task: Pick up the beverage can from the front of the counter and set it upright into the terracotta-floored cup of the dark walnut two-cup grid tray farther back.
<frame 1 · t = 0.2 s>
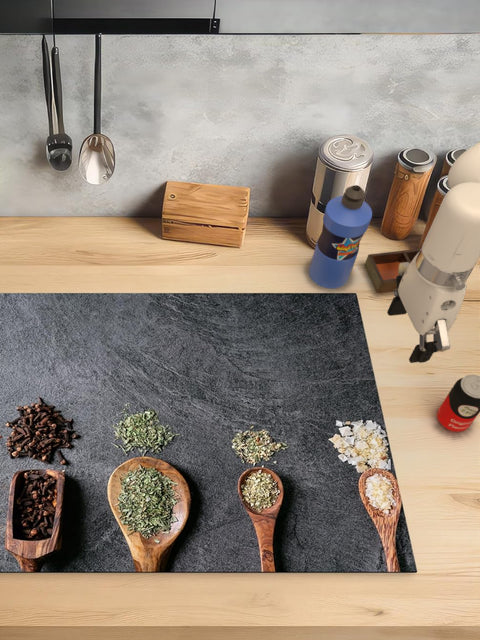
hand: (407, 336, 118), 30 cm above the counter, tool pointing down, fingers open, 9 cm apart
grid: (405, 275, 166), on the counter
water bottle: (328, 274, 167), on the counter
beverage can: (451, 420, 144), on the counter
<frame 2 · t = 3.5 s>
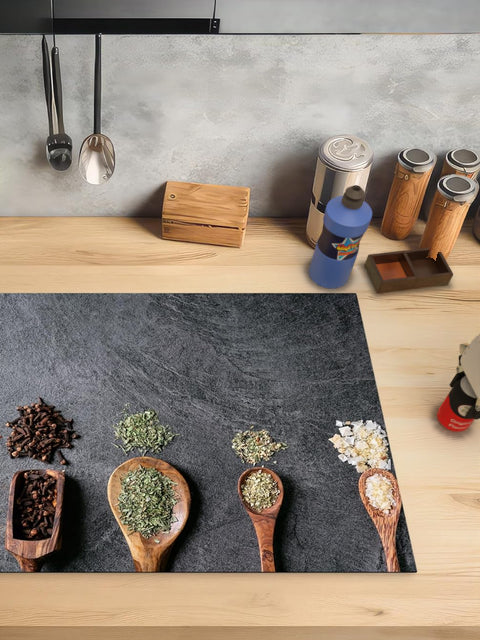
hand: (465, 400, 138), 7 cm above the counter, tool pointing down, fingers closed on beverage can, 6 cm apart
beverage can: (451, 420, 144), on the counter, touching gripper
everything else where it was.
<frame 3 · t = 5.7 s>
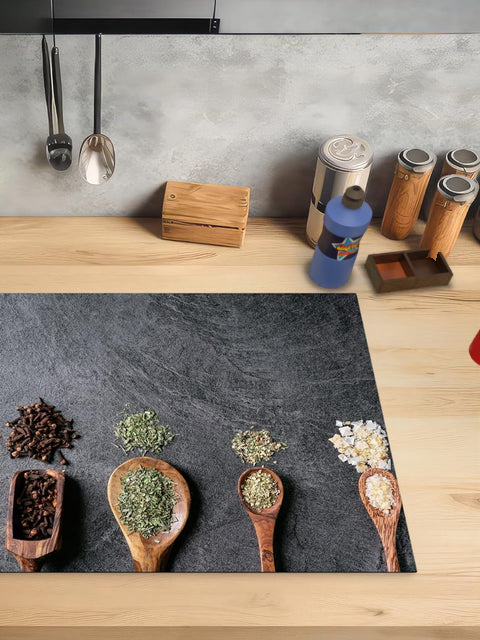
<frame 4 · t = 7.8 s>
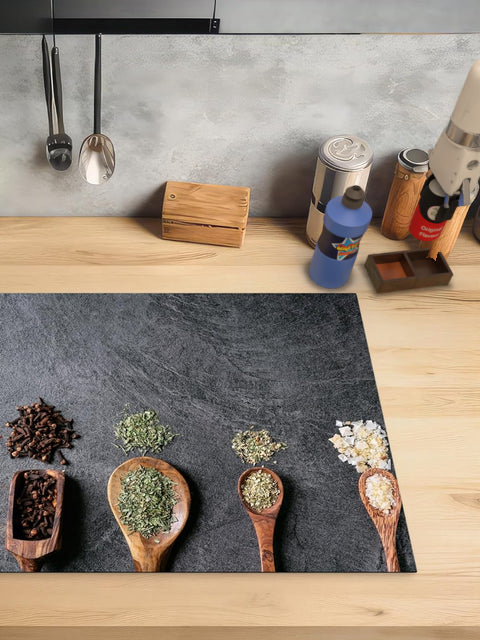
hand: (435, 206, 142), 25 cm above the counter, tool pointing down, fingers closed on beverage can, 6 cm apart
beverage can: (422, 234, 148), point 18 cm above the counter, touching gripper
everything else where it was.
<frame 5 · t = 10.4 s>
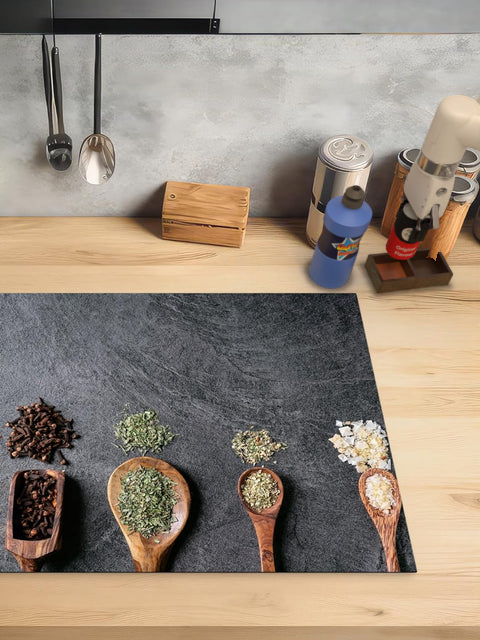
hand: (409, 228, 153), 15 cm above the counter, tool pointing down, fingers closed on beverage can, 6 cm apart
beverage can: (398, 252, 159), point 8 cm above the counter, touching gripper
everything else where it was.
when the fingers open (8 cm above the counter, at t = 12.5 s): beverage can stays where it is, resting on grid.
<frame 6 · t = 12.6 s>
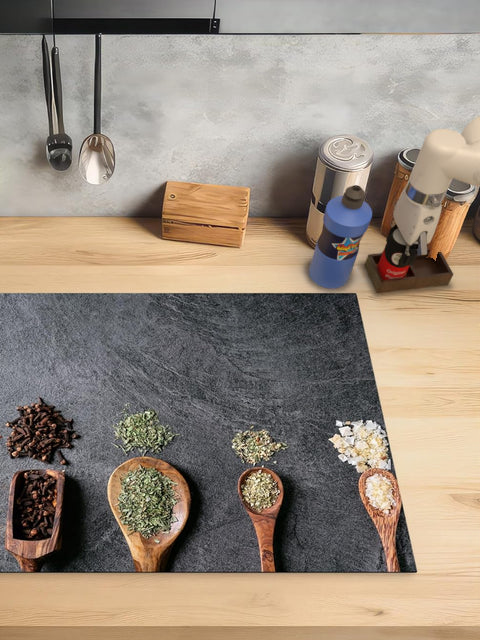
hand: (399, 252, 159), 8 cm above the counter, tool pointing down, fingers open, 6 cm apart
beverage can: (389, 275, 165), point 1 cm above the counter, touching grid
everything else where it was.
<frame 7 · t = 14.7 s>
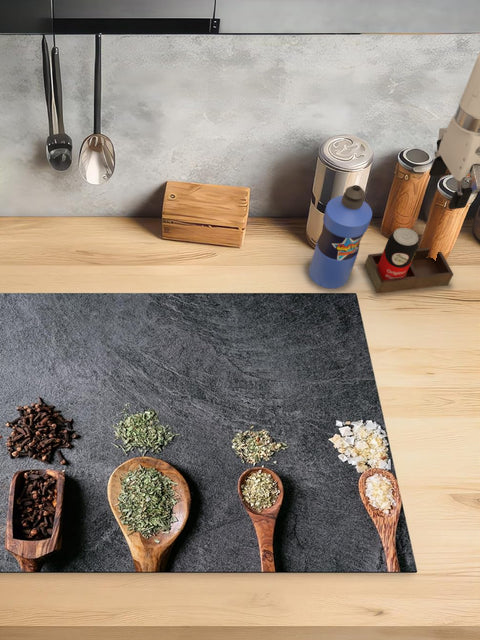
hand: (446, 190, 143), 27 cm above the counter, tool pointing down, fingers open, 9 cm apart
nothing on the counter moved.
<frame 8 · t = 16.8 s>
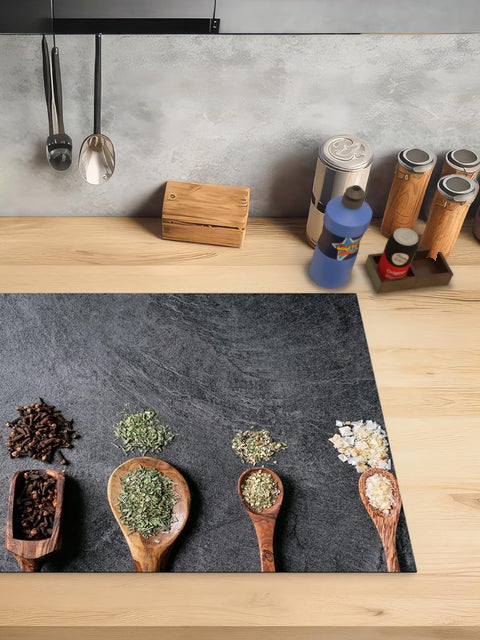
nothing on the counter moved.
at the end: beverage can 0.0 cm from the target spot in the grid, point 0.6 cm above the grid's base; beverage can tilted 0°; the gripper is holding nothing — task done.
